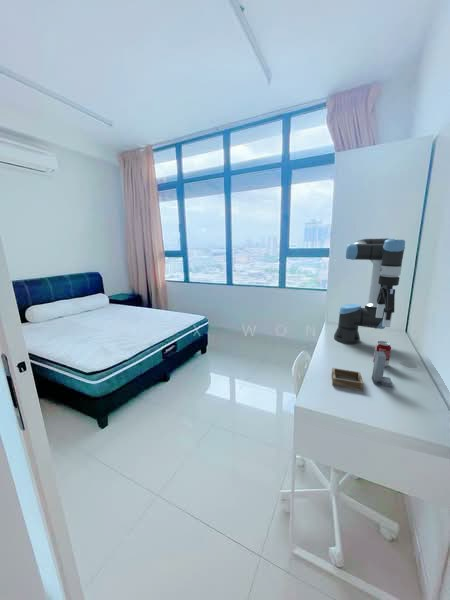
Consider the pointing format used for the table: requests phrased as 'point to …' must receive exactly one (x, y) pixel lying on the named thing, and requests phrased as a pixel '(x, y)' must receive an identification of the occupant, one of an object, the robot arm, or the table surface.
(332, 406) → the table surface
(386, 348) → the soda can
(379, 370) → the bracket
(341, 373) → the wooden frame
